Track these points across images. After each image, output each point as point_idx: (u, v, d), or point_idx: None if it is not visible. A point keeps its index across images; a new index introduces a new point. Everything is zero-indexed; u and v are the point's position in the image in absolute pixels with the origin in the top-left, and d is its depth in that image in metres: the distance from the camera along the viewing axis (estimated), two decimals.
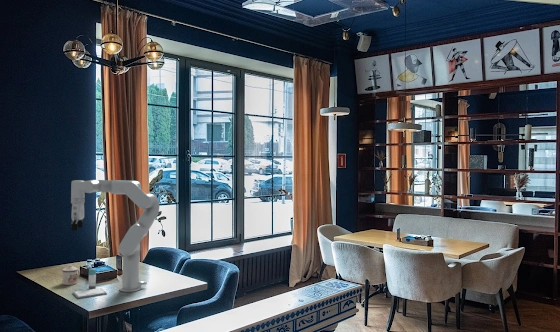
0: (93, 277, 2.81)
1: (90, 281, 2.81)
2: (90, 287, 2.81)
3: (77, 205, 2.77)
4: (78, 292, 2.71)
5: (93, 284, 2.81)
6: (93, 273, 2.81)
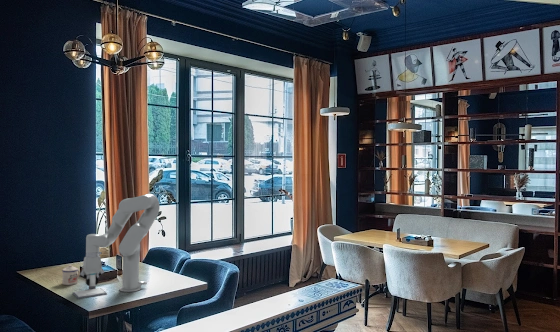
0: (93, 277, 2.81)
1: (90, 281, 2.81)
2: (90, 287, 2.81)
3: None
4: (78, 292, 2.71)
5: (93, 284, 2.81)
6: (93, 273, 2.81)
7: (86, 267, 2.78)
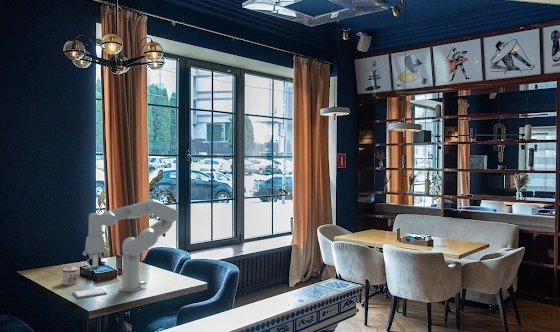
0: (95, 257, 2.73)
1: (93, 261, 2.72)
2: (93, 267, 2.73)
3: None
4: (78, 292, 2.71)
5: (96, 264, 2.73)
6: (96, 253, 2.73)
7: (89, 247, 2.70)
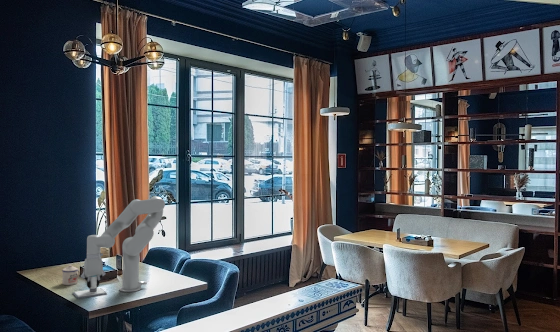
0: (94, 279, 2.73)
1: (91, 283, 2.72)
2: (91, 289, 2.72)
3: None
4: (78, 292, 2.71)
5: (94, 286, 2.73)
6: (94, 275, 2.73)
7: (87, 269, 2.70)
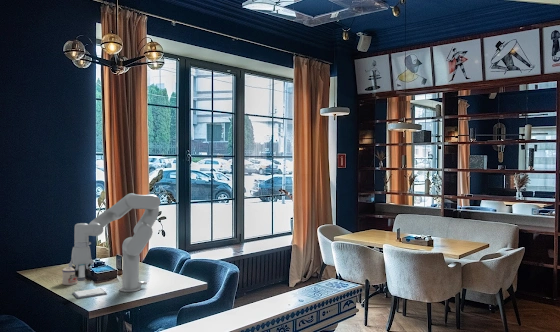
0: (82, 268, 2.68)
1: (79, 272, 2.68)
2: (79, 278, 2.68)
3: None
4: (78, 292, 2.71)
5: (82, 275, 2.69)
6: (82, 264, 2.68)
7: (75, 258, 2.66)
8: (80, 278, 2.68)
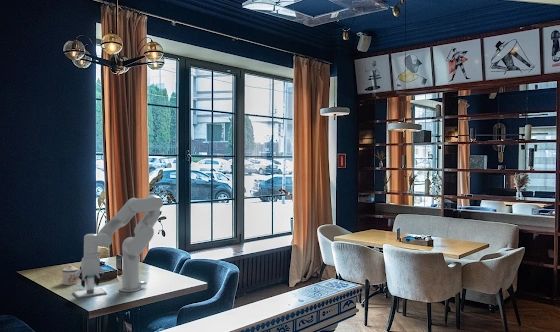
0: (91, 280, 2.70)
1: (88, 284, 2.69)
2: (88, 291, 2.69)
3: None
4: (78, 292, 2.71)
5: (91, 288, 2.70)
6: (91, 276, 2.70)
7: (84, 269, 2.67)
8: (89, 290, 2.69)
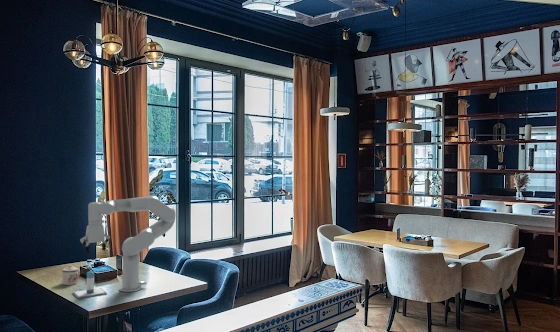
0: (91, 280, 2.70)
1: (88, 284, 2.69)
2: (88, 291, 2.69)
3: None
4: (78, 292, 2.71)
5: (91, 288, 2.70)
6: (91, 276, 2.70)
7: (90, 236, 2.74)
8: (89, 291, 2.69)
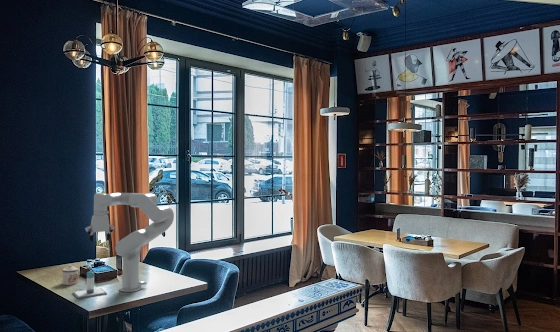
0: (91, 280, 2.70)
1: (88, 284, 2.69)
2: (88, 291, 2.69)
3: None
4: (78, 292, 2.71)
5: (91, 288, 2.70)
6: (91, 276, 2.70)
7: (94, 225, 2.83)
8: (89, 291, 2.69)
